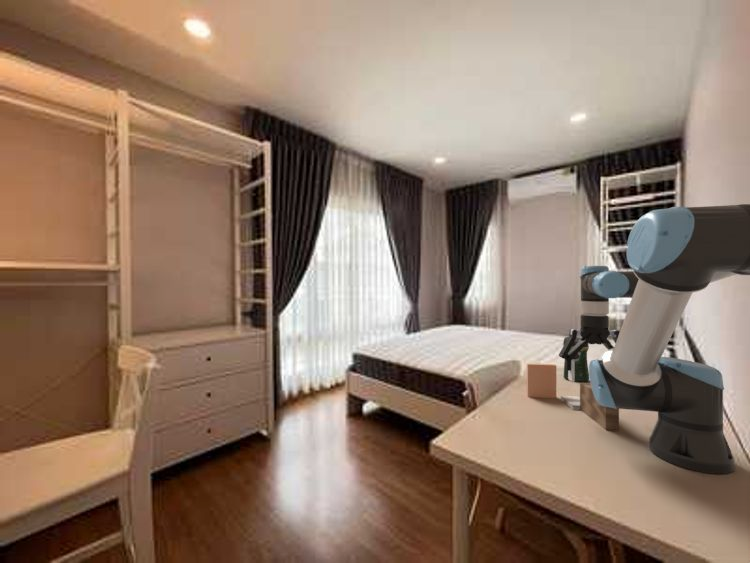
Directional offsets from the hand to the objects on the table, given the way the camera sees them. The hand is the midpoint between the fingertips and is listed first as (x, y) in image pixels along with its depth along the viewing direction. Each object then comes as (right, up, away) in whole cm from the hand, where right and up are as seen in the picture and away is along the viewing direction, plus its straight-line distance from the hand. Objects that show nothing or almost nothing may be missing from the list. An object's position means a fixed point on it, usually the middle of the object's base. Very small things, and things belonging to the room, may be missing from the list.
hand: (594, 381), depth 108 cm
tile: (-8, -11, +19) cm, 23 cm away
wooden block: (0, -11, +3) cm, 11 cm away
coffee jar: (+19, -12, +41) cm, 47 cm away
